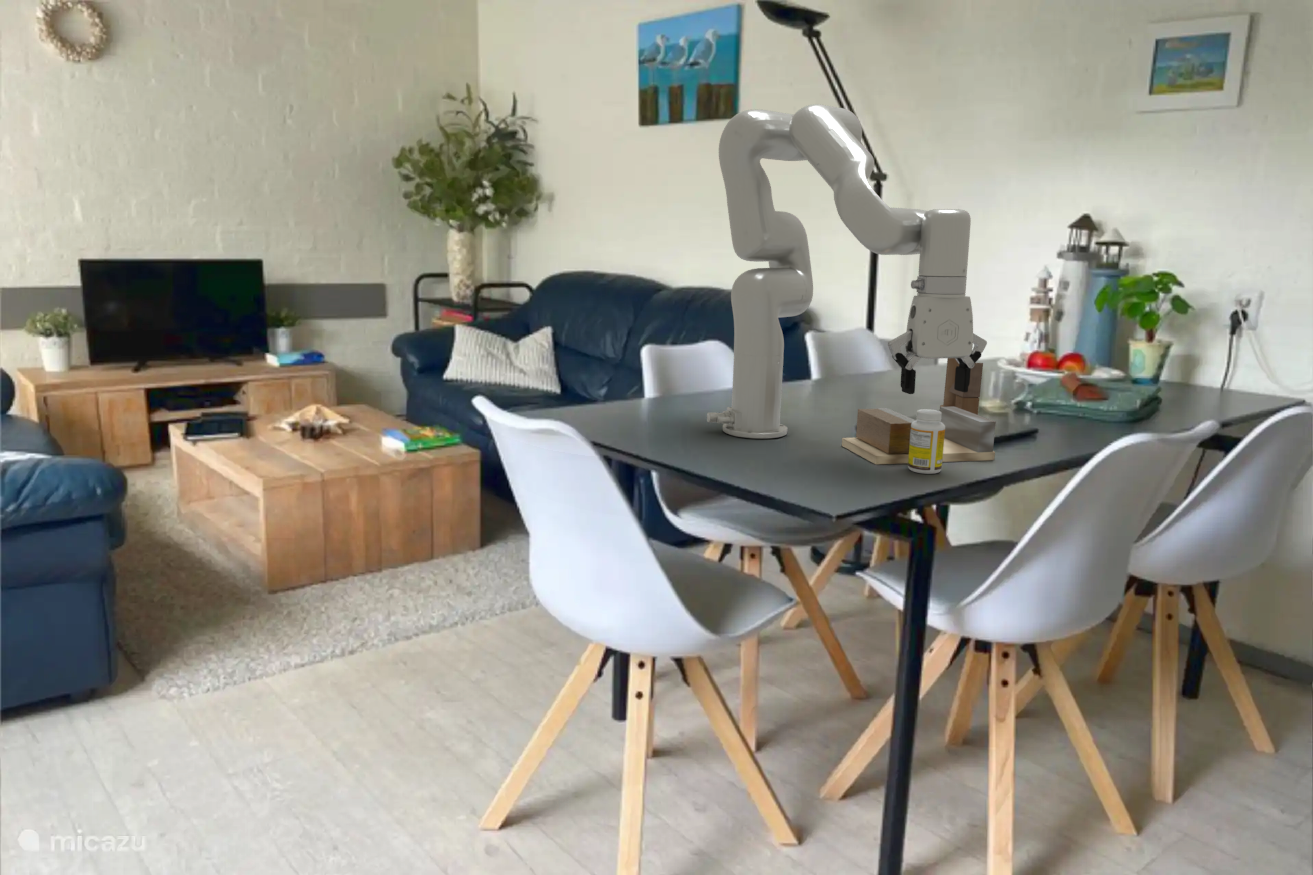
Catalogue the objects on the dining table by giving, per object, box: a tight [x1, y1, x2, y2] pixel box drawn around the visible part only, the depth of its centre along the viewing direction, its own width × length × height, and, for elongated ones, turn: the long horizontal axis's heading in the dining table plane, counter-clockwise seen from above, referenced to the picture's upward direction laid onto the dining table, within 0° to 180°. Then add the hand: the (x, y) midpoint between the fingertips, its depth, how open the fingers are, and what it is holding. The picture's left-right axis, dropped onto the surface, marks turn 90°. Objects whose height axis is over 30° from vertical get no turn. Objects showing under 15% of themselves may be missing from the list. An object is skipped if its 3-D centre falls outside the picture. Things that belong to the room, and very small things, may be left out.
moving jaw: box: [855, 407, 916, 454], centre depth 174 cm, size 6×14×5 cm, turn 14°
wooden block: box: [939, 358, 984, 415], centre depth 198 cm, size 4×11×18 cm, turn 7°
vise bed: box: [841, 406, 997, 465], centre depth 176 cm, size 23×14×7 cm, turn 104°
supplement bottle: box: [907, 408, 945, 475], centre depth 163 cm, size 6×6×10 cm
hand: (934, 392), depth 160 cm, fingers open, 9 cm apart
